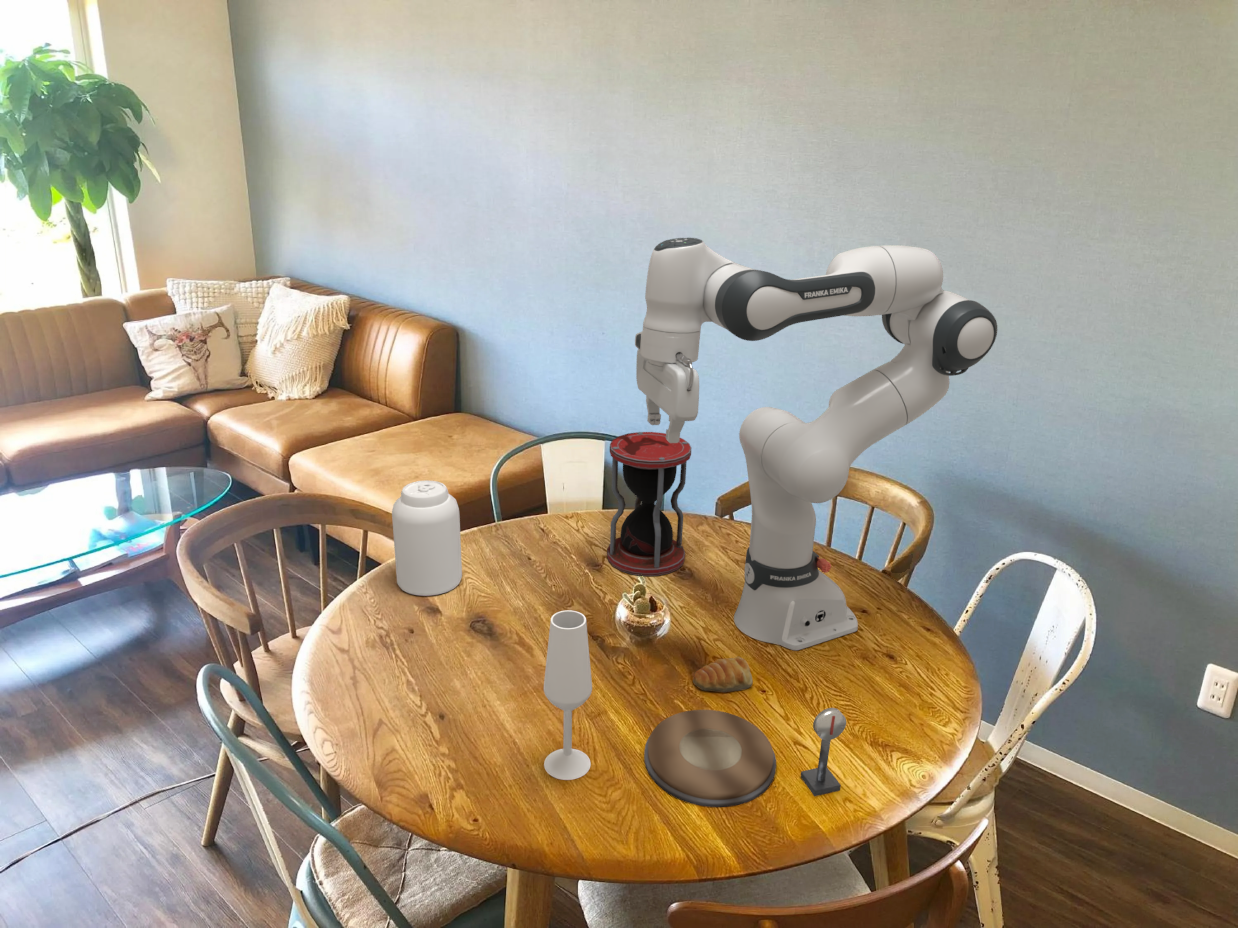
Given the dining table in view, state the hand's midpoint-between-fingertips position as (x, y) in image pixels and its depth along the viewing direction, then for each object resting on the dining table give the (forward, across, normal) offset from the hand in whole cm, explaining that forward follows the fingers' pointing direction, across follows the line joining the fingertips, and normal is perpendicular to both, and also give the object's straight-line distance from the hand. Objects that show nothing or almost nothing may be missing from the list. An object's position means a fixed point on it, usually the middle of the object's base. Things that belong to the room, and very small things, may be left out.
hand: (662, 432), depth 145 cm
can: (+40, +33, +34) cm, 62 cm away
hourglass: (+38, +33, -10) cm, 51 cm away
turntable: (+41, -28, -2) cm, 50 cm away
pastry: (+40, -11, -11) cm, 43 cm away
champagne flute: (+42, -24, +19) cm, 52 cm away
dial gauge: (+41, -37, -15) cm, 57 cm away
